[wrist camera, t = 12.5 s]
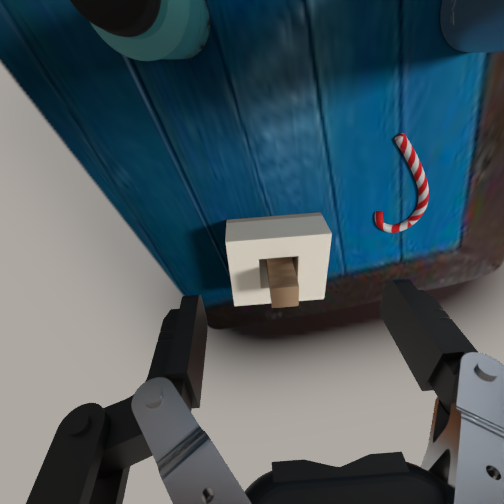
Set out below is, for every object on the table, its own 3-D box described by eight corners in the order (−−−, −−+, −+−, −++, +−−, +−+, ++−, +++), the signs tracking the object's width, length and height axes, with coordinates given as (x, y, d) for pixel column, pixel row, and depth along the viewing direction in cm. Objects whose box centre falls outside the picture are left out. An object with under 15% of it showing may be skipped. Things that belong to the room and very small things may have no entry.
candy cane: (429, 124, 34) (431, 223, 43) (423, 122, 35) (426, 219, 44) (365, 149, 36) (379, 239, 44) (362, 146, 37) (376, 235, 45)
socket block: (320, 212, 41) (331, 233, 37) (315, 274, 48) (324, 298, 44) (226, 219, 41) (225, 242, 37) (234, 280, 48) (234, 306, 44)
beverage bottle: (196, 74, 31) (151, 96, 15) (136, 33, 29) (4, 7, 12) (224, 7, 28) (208, -58, 11) (160, -44, 25) (26, -215, 9)
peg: (287, 242, 43) (299, 286, 35) (287, 260, 45) (298, 305, 37) (264, 244, 43) (271, 288, 35) (265, 262, 45) (272, 308, 37)
